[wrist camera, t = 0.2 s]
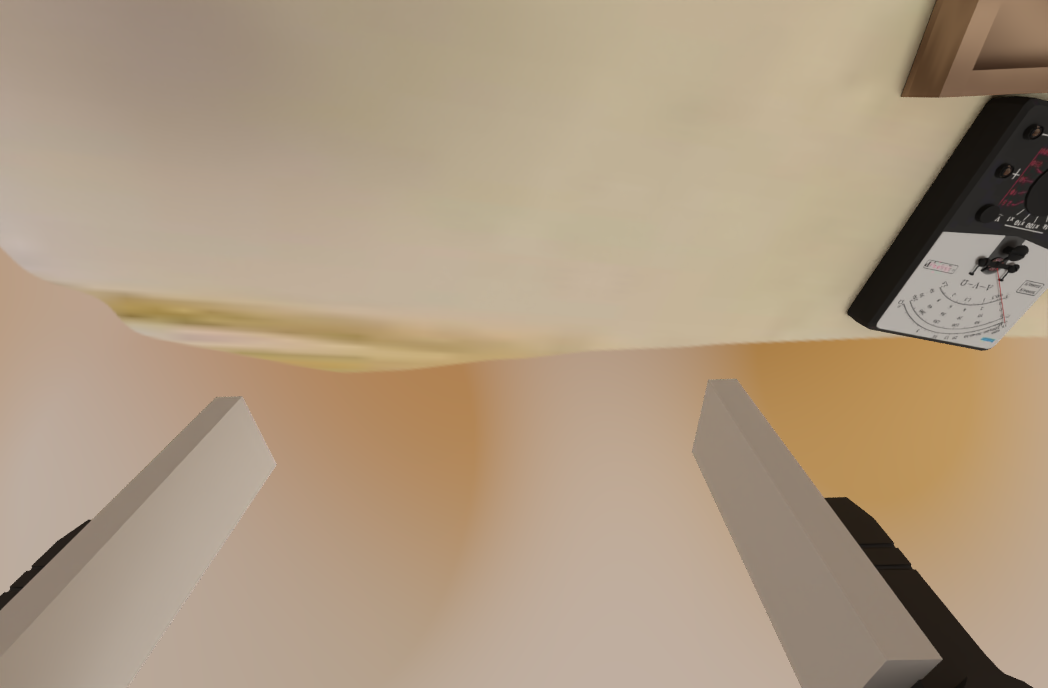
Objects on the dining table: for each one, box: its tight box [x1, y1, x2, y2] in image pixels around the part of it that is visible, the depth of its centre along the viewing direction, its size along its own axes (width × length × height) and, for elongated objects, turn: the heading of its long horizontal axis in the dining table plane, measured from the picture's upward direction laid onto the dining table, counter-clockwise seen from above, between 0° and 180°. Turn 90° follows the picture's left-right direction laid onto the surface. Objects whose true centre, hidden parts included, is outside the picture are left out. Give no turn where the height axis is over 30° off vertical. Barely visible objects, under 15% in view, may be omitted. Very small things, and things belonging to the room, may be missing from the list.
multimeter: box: [847, 96, 1048, 351], centre depth 35 cm, size 13×19×5 cm
